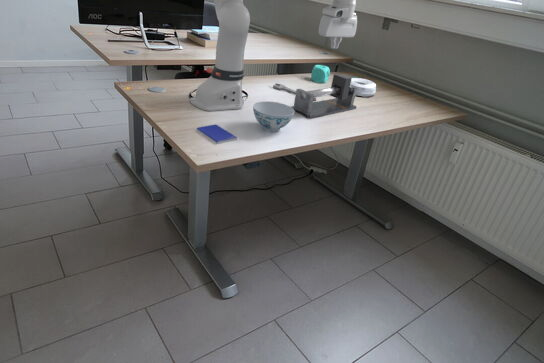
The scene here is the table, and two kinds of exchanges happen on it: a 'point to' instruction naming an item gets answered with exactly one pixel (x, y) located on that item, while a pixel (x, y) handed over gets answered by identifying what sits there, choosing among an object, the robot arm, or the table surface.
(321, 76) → the decorative dice
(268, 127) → the chinaware
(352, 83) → the cable
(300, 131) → the table surface
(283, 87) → the adjustable wrench
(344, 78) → the dark grey upright block
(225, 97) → the robot arm
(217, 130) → the hard drive
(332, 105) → the pipe stand
